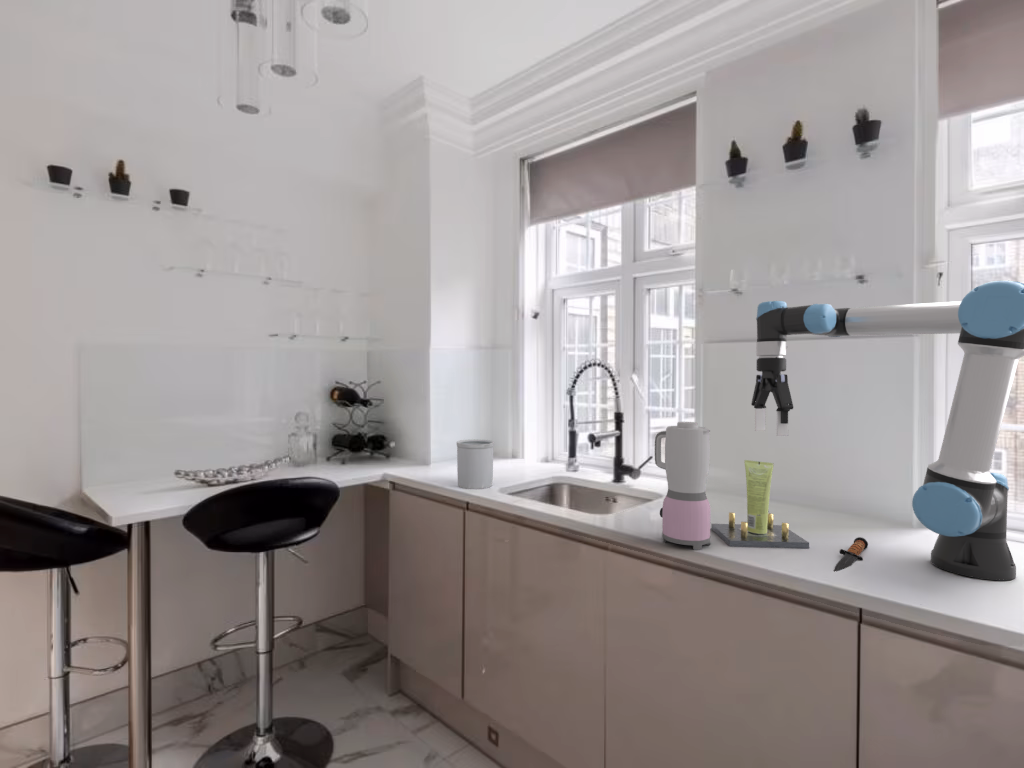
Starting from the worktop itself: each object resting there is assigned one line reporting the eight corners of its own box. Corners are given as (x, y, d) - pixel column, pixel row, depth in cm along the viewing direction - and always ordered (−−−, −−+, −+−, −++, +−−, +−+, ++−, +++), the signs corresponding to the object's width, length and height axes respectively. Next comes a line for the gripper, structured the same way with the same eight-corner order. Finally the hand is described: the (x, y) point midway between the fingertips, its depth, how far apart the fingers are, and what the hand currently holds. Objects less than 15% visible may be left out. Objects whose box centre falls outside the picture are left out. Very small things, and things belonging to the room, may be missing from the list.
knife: (849, 573, 120) (824, 563, 124) (845, 585, 121) (821, 575, 125) (874, 541, 139) (852, 533, 142) (871, 552, 139) (849, 543, 143)
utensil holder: (492, 489, 207) (493, 444, 207) (454, 489, 208) (454, 443, 207) (494, 482, 222) (495, 439, 222) (458, 481, 222) (458, 439, 222)
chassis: (809, 548, 140) (809, 527, 140) (729, 546, 141) (730, 525, 141) (782, 530, 156) (782, 511, 156) (711, 528, 157) (711, 509, 157)
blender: (719, 543, 144) (721, 422, 143) (697, 553, 135) (699, 425, 134) (665, 530, 155) (667, 418, 154) (642, 539, 146) (643, 421, 146)
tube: (763, 529, 151) (764, 459, 151) (773, 534, 146) (773, 462, 146) (743, 529, 151) (744, 459, 151) (752, 534, 146) (753, 462, 146)
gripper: (808, 355, 139) (807, 438, 139) (765, 359, 164) (764, 429, 164) (778, 355, 139) (778, 438, 139) (740, 359, 164) (739, 429, 164)
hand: (770, 433), depth 152 cm, fingers open, 13 cm apart
